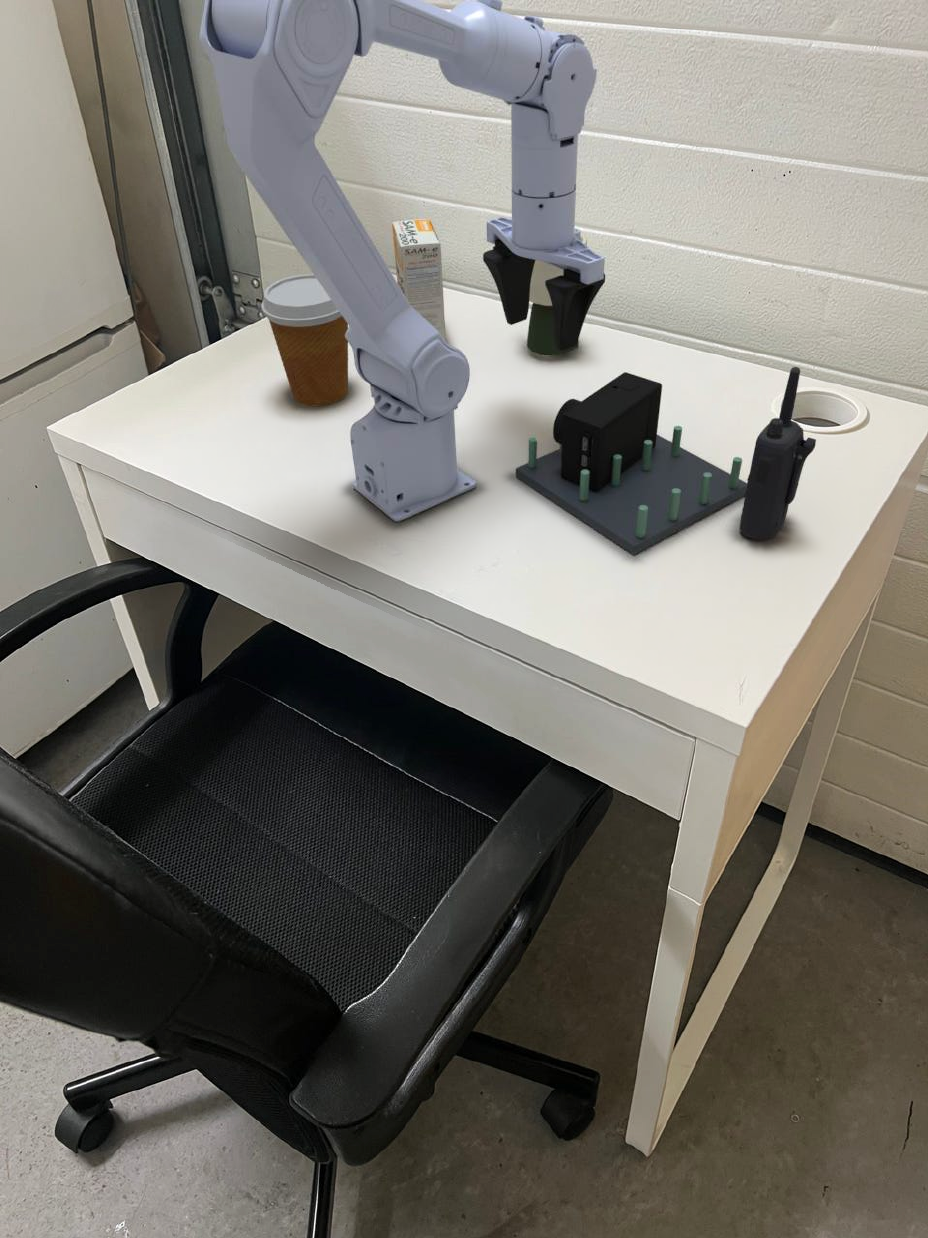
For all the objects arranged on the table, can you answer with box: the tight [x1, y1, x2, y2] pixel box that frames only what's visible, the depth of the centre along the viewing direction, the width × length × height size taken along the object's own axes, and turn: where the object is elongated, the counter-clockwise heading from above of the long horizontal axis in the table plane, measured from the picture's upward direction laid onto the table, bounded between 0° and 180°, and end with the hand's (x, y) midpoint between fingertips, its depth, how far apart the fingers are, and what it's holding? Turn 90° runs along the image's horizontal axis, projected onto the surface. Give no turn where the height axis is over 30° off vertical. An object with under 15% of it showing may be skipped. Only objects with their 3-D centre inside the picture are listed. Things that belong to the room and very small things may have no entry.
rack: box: [515, 425, 748, 556], centre depth 89 cm, size 15×16×4 cm
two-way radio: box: [739, 366, 817, 540], centre depth 79 cm, size 6×4×15 cm
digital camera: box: [552, 371, 663, 492], centre depth 89 cm, size 10×5×7 cm, turn 139°
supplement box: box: [391, 218, 447, 343], centre depth 112 cm, size 8×5×13 cm, turn 10°
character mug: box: [526, 233, 588, 356], centre depth 108 cm, size 11×7×13 cm, turn 46°
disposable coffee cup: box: [260, 273, 349, 407], centre depth 102 cm, size 10×10×12 cm
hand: (541, 333), depth 92 cm, fingers open, 7 cm apart
